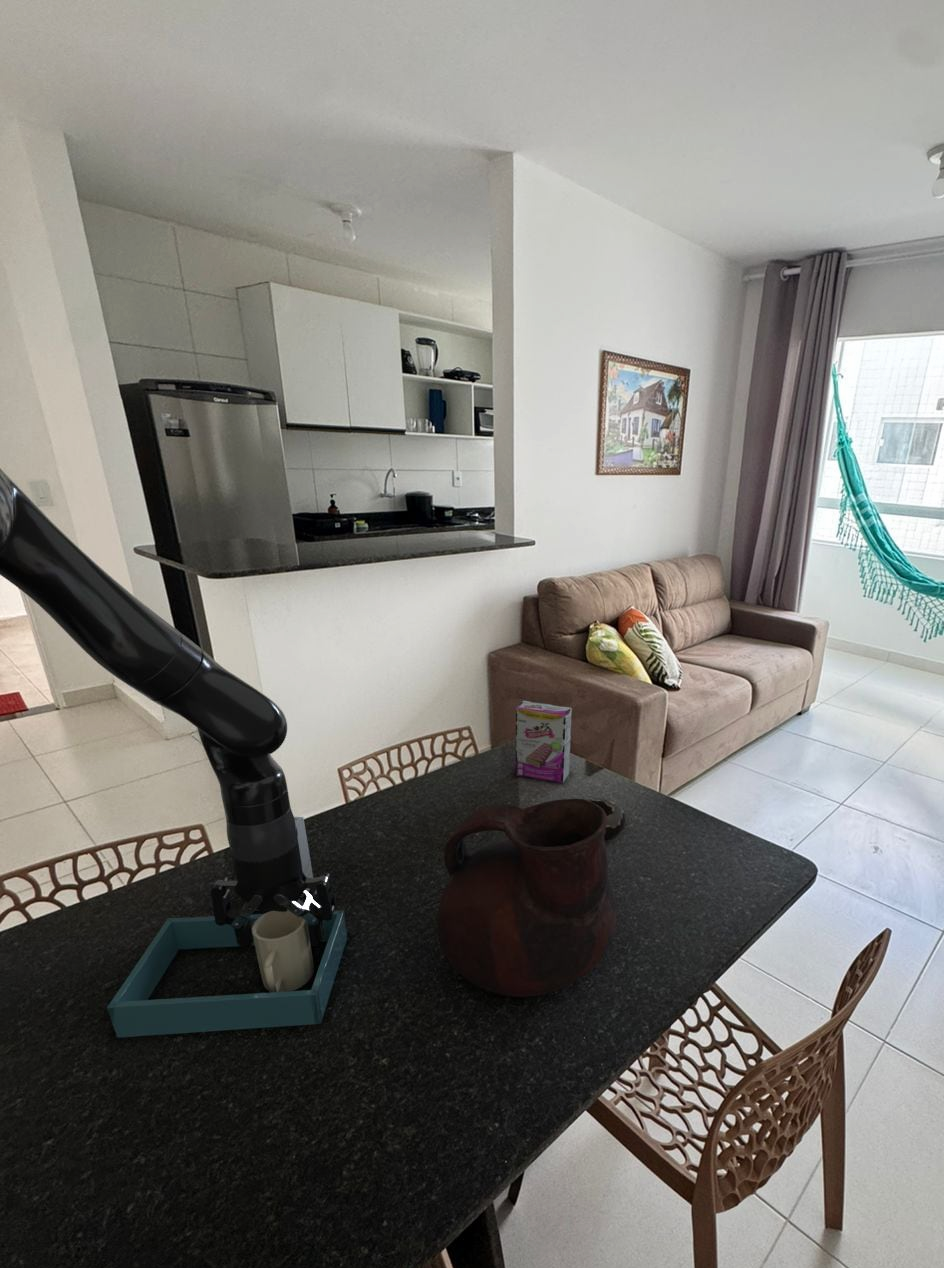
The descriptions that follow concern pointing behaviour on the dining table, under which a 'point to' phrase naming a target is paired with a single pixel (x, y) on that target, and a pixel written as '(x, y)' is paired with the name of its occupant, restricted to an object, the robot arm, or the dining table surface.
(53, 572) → the robot arm
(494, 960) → the jug
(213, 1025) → the rectangular frame
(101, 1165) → the dining table surface
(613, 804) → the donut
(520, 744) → the candy bar box
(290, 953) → the mug
